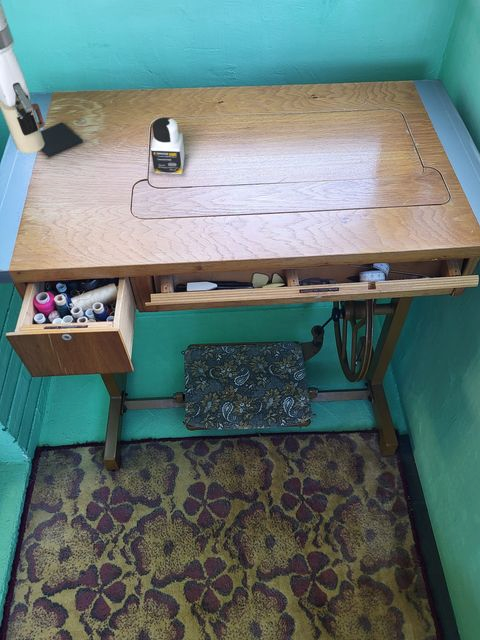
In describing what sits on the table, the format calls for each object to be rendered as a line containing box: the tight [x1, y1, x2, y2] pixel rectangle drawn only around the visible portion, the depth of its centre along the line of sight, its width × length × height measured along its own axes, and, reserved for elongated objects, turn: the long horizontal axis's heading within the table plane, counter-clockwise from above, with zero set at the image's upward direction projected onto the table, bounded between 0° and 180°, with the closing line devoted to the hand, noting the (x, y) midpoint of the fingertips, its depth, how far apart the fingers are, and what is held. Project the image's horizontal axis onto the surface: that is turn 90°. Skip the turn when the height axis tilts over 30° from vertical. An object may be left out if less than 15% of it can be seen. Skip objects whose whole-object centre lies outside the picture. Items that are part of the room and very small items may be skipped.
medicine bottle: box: [150, 117, 186, 175], centre depth 130 cm, size 7×7×12 cm
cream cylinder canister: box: [0, 97, 46, 154], centre depth 111 cm, size 8×6×10 cm
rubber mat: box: [40, 122, 83, 158], centre depth 138 cm, size 10×10×1 cm
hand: (22, 124), depth 111 cm, fingers closed on cream cylinder canister, 6 cm apart
